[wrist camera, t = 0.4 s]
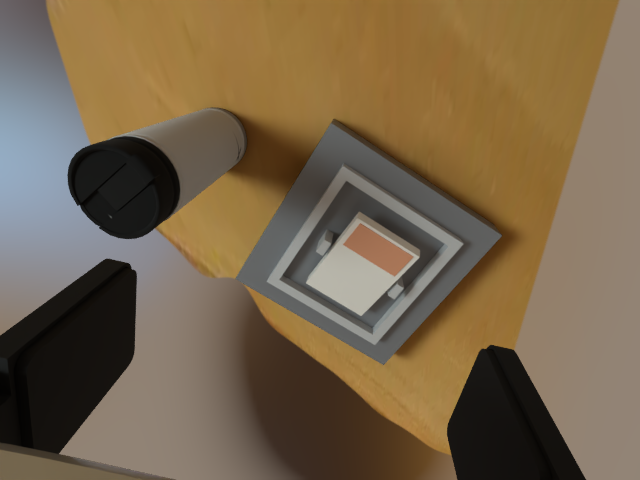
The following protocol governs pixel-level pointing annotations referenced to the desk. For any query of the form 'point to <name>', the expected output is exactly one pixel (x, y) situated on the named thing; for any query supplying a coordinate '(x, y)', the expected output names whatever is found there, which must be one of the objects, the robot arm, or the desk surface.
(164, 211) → the travel mug
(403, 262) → the rocker switch
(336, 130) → the switch plate
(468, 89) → the desk surface
